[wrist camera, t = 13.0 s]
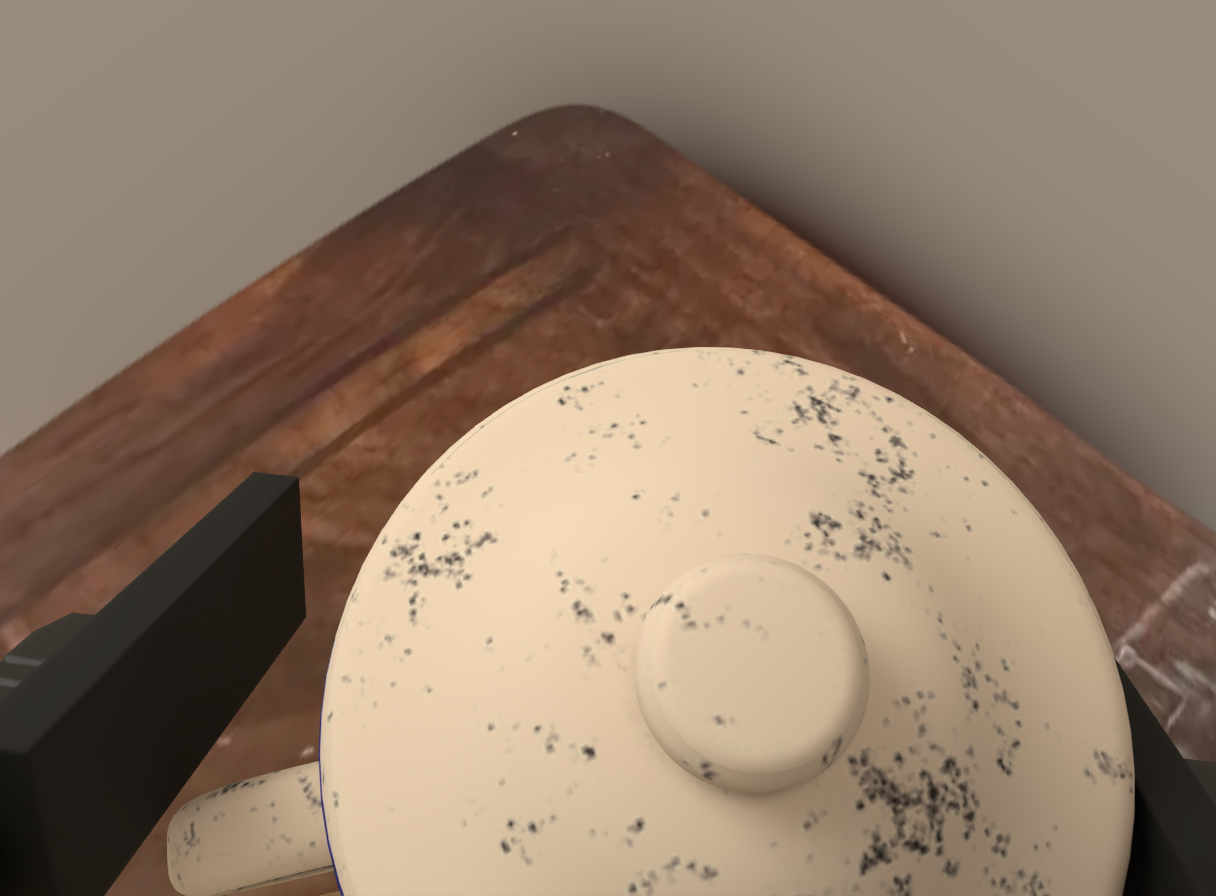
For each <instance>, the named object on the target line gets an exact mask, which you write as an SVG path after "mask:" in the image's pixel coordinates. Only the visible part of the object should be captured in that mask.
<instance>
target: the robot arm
mask: <svg viewBox="0 0 1216 896" xmlns="http://www.w3.org/2000/svg"><path fill="white" fill-rule="evenodd" d="M305 618H306V607H305V588H304V568H303V549H302V530H301V511H300V492H299V477H292V476H283V475H275V474H267V473H259V472H253V473H252V474H251V475H250V476H249V477H248V478H247V479H246V480H245V481H243V482H242V483H241V484H240V485H239V486H238V487H237V488H236V489H235V490H233V491H232V492H231V493H230V494H229V495H228V496H227V497H226V498H225V499H223V500H222V501H221V502H220V503H219V504H218V505H217V506H216V507H215V508H214V509H212V510H211V511H210V512H209V513H208V514H207V515H206V516H205V517H204V518H202V519H201V520H200V521H199V522H198V523H197V524H196V525H195V526H194V527H192V528H191V529H190V530H189V531H188V532H187V533H186V534H185V535H184V536H182V537H181V538H180V539H179V540H178V541H177V542H176V543H175V544H174V545H172V546H171V547H170V548H169V549H168V550H167V551H166V552H165V553H164V554H162V555H161V556H160V557H159V558H158V559H157V560H156V561H155V562H154V563H152V564H151V565H150V566H149V567H148V568H147V569H146V570H145V571H144V572H142V573H141V574H140V575H139V576H138V577H137V578H136V579H135V580H134V581H133V582H131V583H130V584H129V585H128V586H127V587H126V588H125V589H124V590H123V591H121V592H120V593H119V594H118V595H117V596H116V597H115V598H114V599H113V600H111V601H110V602H109V603H108V604H107V605H106V606H105V607H104V608H103V609H101V610H100V611H99V612H98V613H97V614H96V615H95V616H94V615H87V614H79V613H71V614H69V615H67V616H65V617H63V618H61V619H59V620H57V621H55V622H53V623H50V624H48V625H46V626H44V627H42V628H40V629H38V630H36V631H34V632H32V633H31V634H30V635H29V636H28V637H27V638H25V639H24V640H23V641H22V642H21V643H19V644H18V645H17V646H16V647H15V648H13V649H12V650H11V651H10V652H9V653H8V654H6V655H5V656H4V659H3V661H2V662H0V896H104V895H105V894H106V893H107V891H108V890H109V888H110V887H111V886H112V884H113V883H114V881H115V880H116V879H117V877H118V876H119V875H120V873H121V872H122V870H123V869H124V868H125V866H126V865H127V864H128V862H129V861H130V859H131V858H132V857H133V855H134V854H135V852H136V851H137V850H138V848H139V847H140V846H141V844H142V843H143V841H144V840H145V839H146V837H147V836H148V835H149V833H150V832H151V830H152V829H153V828H154V826H155V825H156V824H157V822H158V821H159V819H160V818H161V817H162V815H163V814H164V812H165V811H166V810H167V808H168V807H169V806H170V804H171V803H172V801H173V800H174V799H175V797H176V796H177V795H178V793H179V792H180V790H181V789H182V788H183V786H184V785H185V783H186V782H187V781H188V779H189V778H190V777H191V775H192V774H193V772H194V771H195V770H196V768H197V767H198V766H199V764H200V763H201V761H202V760H203V759H204V757H205V756H206V755H207V753H208V752H209V750H210V749H211V748H212V746H213V745H214V743H215V742H216V741H217V739H218V738H219V737H220V735H221V734H222V732H223V731H224V730H225V728H226V727H227V726H228V724H229V723H230V721H231V720H232V719H233V717H234V716H235V715H236V713H237V712H238V710H239V709H240V708H241V706H242V705H243V703H244V702H245V701H246V699H247V698H248V697H249V695H250V694H251V692H252V691H253V690H254V688H255V687H256V686H257V684H258V683H259V681H260V680H261V679H262V677H263V676H264V674H265V673H266V672H267V670H268V669H269V668H270V666H271V665H272V663H273V662H274V661H275V659H276V658H277V657H278V655H279V654H280V652H281V651H282V650H283V648H284V647H285V646H286V644H287V643H288V641H289V640H290V639H291V637H292V636H293V634H294V633H295V632H296V630H297V629H298V628H299V626H300V625H301V623H302V622H303V621H304V619H305ZM1114 659H1115V658H1114ZM1115 662H1116V666H1117V669H1118V673H1119V676H1120V680H1121V683H1122V687H1123V691H1124V696H1125V702H1126V707H1127V713H1128V718H1129V723H1130V729H1131V738H1132V749H1133V760H1134V771H1135V808H1134V825H1133V834H1132V844H1131V854H1130V861H1129V866H1128V870H1127V875H1126V880H1125V885H1124V890H1123V895H1122V896H1216V764H1215V763H1213V762H1206V761H1198V760H1191V759H1183V757H1182V756H1181V754H1180V753H1179V751H1178V750H1177V748H1176V747H1175V745H1174V744H1173V743H1172V741H1171V740H1170V738H1169V737H1168V735H1167V734H1166V732H1165V731H1164V729H1163V728H1162V726H1161V725H1160V724H1159V722H1158V721H1157V719H1156V718H1155V716H1154V715H1153V713H1152V712H1151V710H1150V709H1149V707H1148V706H1147V704H1146V703H1145V702H1144V700H1143V699H1142V697H1141V696H1140V694H1139V693H1138V691H1137V690H1136V688H1135V687H1134V685H1133V684H1132V683H1131V681H1130V680H1129V678H1128V677H1127V675H1126V674H1125V672H1124V671H1123V669H1122V668H1121V666H1120V665H1119V664H1118V662H1117V661H1116V659H1115Z"/></svg>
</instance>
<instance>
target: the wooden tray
mask: <svg viewBox="0 0 1216 896" xmlns="http://www.w3.org/2000/svg"><path fill="white" fill-rule="evenodd" d="M321 896H341V893H340V891H338V892H334V893H329V894H325V895H321Z"/></svg>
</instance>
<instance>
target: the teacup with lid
mask: <svg viewBox="0 0 1216 896" xmlns="http://www.w3.org/2000/svg"><path fill="white" fill-rule="evenodd" d="M1134 808H1135V771H1134V760H1133V749H1132V738H1131V729H1130V723H1129V718H1128V713H1127V707H1126V702H1125V696H1124V691H1123V687H1122V683H1121V680H1120V676H1119V673H1118V669H1117V666H1116V662H1115V659H1114V655H1113V652H1112V648H1111V646H1110V643H1109V640H1108V638H1107V635H1106V633H1105V630H1104V627H1103V625H1102V622H1101V620H1100V617H1099V614H1098V612H1097V610H1096V607H1095V605H1094V603H1093V601H1092V599H1091V597H1090V595H1089V593H1088V591H1087V589H1086V587H1085V585H1084V583H1083V581H1082V579H1081V577H1080V575H1079V573H1078V571H1077V570H1076V568H1075V566H1074V565H1073V563H1072V561H1071V560H1070V558H1069V556H1068V555H1067V553H1066V551H1065V550H1064V548H1063V546H1062V545H1061V543H1060V542H1059V540H1058V539H1057V537H1056V536H1055V535H1054V533H1053V532H1052V530H1051V529H1050V528H1049V526H1048V525H1047V524H1046V522H1045V521H1044V519H1043V518H1042V517H1041V515H1040V514H1039V513H1038V511H1037V510H1036V509H1035V508H1034V506H1033V505H1032V504H1031V503H1030V502H1029V501H1028V499H1027V498H1026V497H1025V496H1024V495H1023V494H1022V492H1021V491H1020V490H1019V489H1018V488H1017V487H1016V486H1015V484H1014V483H1013V482H1012V481H1011V480H1010V479H1009V478H1008V477H1007V476H1006V475H1005V474H1004V473H1003V472H1002V471H1001V470H1000V469H999V468H998V467H997V466H996V465H995V464H994V463H993V462H992V461H991V460H990V459H988V458H987V457H986V456H985V455H984V454H983V453H982V452H981V451H979V450H978V449H977V448H976V447H975V446H973V445H972V444H971V443H970V442H968V441H967V440H966V439H965V438H964V437H962V436H961V435H960V434H959V433H958V432H956V431H955V430H953V429H952V428H950V427H949V426H948V425H946V424H945V423H943V422H942V421H940V420H939V419H937V418H936V417H935V416H933V415H932V414H930V413H929V412H927V411H926V410H924V409H922V408H920V407H919V406H917V405H915V404H914V403H912V402H910V401H908V400H907V399H905V398H903V397H901V396H900V395H898V394H896V393H894V392H892V391H890V390H888V389H885V388H883V387H881V386H879V385H877V384H875V383H873V382H871V381H868V380H866V379H864V378H861V377H859V376H856V375H853V374H851V373H848V372H845V371H842V370H840V369H837V368H834V367H832V366H828V365H824V364H821V363H817V362H814V361H810V360H806V359H803V358H799V357H794V356H789V355H783V354H778V353H773V352H767V351H759V350H749V349H739V348H714V347H694V348H680V349H667V350H658V351H652V352H646V353H640V354H634V355H628V356H625V357H621V358H617V359H613V360H609V361H605V362H601V363H597V364H594V365H591V366H589V367H586V368H583V369H580V370H577V371H574V372H572V373H569V374H566V375H564V376H561V377H559V378H557V379H555V380H553V381H550V382H548V383H546V384H544V385H542V386H539V387H537V388H535V389H533V390H531V391H530V392H528V393H526V394H524V395H523V396H521V397H519V398H517V399H516V400H514V401H512V402H510V403H509V404H507V405H505V406H504V407H502V408H501V409H499V410H498V411H496V412H495V413H494V414H492V415H491V416H489V417H488V418H486V419H485V420H483V421H482V422H481V423H479V424H478V425H476V426H475V427H474V428H473V429H472V430H470V431H469V432H468V433H467V434H466V435H464V436H463V437H462V438H461V439H460V440H458V441H457V442H456V443H455V444H454V445H453V446H451V447H450V448H449V449H448V450H447V451H446V452H445V453H444V454H443V455H442V456H441V457H440V458H439V459H438V460H437V461H436V462H435V463H434V464H433V465H432V466H431V467H430V468H429V469H428V470H427V471H426V472H425V473H424V475H423V476H422V477H421V478H420V479H419V481H418V482H417V483H416V484H415V486H414V487H413V488H412V489H411V490H410V492H409V493H408V494H407V495H406V496H405V498H404V499H403V500H402V501H401V503H400V504H399V506H398V507H397V509H396V510H395V512H394V513H393V515H392V516H391V518H390V519H389V521H388V522H387V524H386V525H385V526H384V528H383V529H382V531H381V533H380V534H379V536H378V538H377V540H376V542H375V543H374V545H373V547H372V549H371V551H370V553H369V554H368V556H367V558H366V560H365V562H364V563H363V566H362V568H361V570H360V572H359V575H358V577H357V579H356V582H355V584H354V586H353V588H352V591H351V593H350V595H349V598H348V600H347V603H346V606H345V609H344V612H343V615H342V619H341V622H340V625H339V628H338V631H337V634H336V637H335V640H334V644H333V648H332V653H331V657H330V661H329V666H328V670H327V675H326V679H325V687H324V694H323V702H322V709H321V717H320V738H319V761H318V762H313V763H309V764H305V765H301V766H296V767H292V768H288V769H284V770H280V771H276V772H272V773H268V774H264V775H260V776H257V777H253V778H249V779H246V780H242V781H239V782H236V783H233V784H229V785H226V786H223V787H220V788H217V789H215V790H212V791H210V792H207V793H205V794H203V795H200V796H198V797H196V798H194V799H193V800H191V801H189V802H188V803H186V804H185V805H184V806H182V807H181V808H180V809H179V810H178V811H177V812H176V814H175V815H174V816H173V818H172V820H171V822H170V824H169V828H168V832H167V856H168V872H169V878H170V881H171V883H172V885H173V887H174V888H175V889H176V890H177V891H178V892H179V893H181V894H183V895H185V896H221V895H226V894H231V893H236V892H241V891H246V890H250V889H255V888H260V887H264V886H269V885H274V884H278V883H283V882H287V881H292V880H296V879H300V878H305V877H309V876H314V875H318V874H322V873H327V872H331V871H334V872H335V876H336V880H337V884H338V888H339V890H340V893H341V896H1122V895H1123V890H1124V885H1125V880H1126V875H1127V870H1128V866H1129V861H1130V854H1131V844H1132V834H1133V825H1134Z"/></svg>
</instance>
